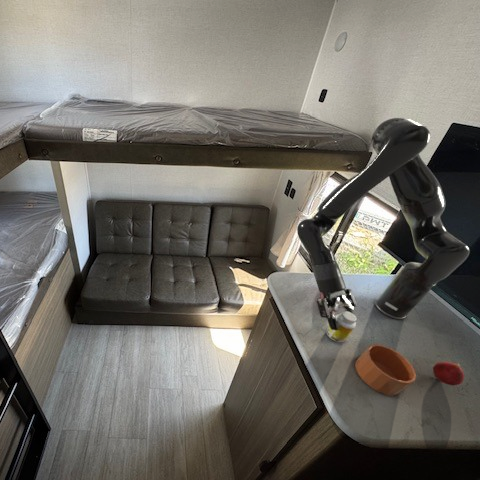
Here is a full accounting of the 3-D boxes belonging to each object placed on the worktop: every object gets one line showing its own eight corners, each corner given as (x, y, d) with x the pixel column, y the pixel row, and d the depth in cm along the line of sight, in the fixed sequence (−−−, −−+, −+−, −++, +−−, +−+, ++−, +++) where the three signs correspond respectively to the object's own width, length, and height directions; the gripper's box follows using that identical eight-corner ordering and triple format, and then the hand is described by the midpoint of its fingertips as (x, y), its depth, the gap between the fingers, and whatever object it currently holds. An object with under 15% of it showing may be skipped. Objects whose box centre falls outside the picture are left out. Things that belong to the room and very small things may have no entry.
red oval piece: (457, 392, 71) (479, 378, 67) (435, 387, 72) (455, 373, 68) (443, 372, 76) (462, 357, 71) (422, 368, 77) (440, 353, 72)
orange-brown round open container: (369, 352, 80) (381, 339, 76) (408, 386, 72) (424, 373, 68) (346, 364, 76) (358, 351, 72) (385, 402, 68) (401, 389, 64)
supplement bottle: (348, 341, 83) (364, 322, 77) (334, 344, 82) (349, 324, 76) (335, 327, 87) (349, 307, 82) (321, 329, 86) (335, 310, 80)
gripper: (323, 281, 77) (341, 334, 75) (353, 270, 82) (370, 320, 80) (303, 282, 84) (318, 331, 82) (331, 272, 89) (346, 318, 87)
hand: (344, 325), depth 81 cm, fingers open, 8 cm apart
